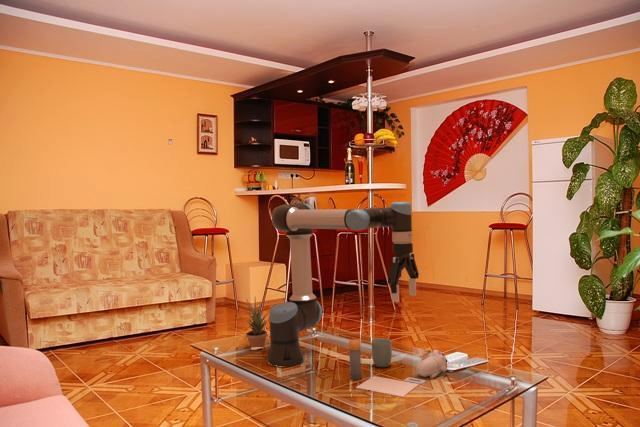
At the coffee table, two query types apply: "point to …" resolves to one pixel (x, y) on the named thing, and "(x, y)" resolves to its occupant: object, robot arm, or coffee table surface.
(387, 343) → the cup
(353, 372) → the marker
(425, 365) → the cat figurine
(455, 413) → the coffee table surface
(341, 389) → the coffee table surface
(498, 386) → the coffee table surface
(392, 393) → the paper
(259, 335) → the potted plant
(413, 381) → the plate
